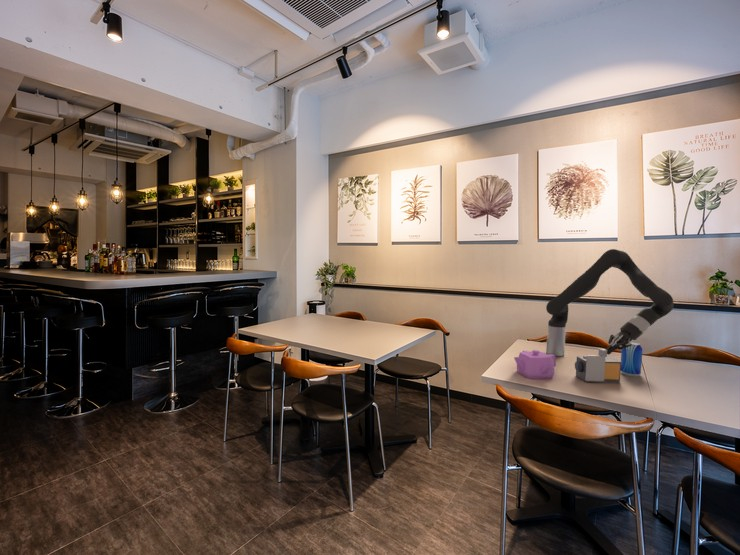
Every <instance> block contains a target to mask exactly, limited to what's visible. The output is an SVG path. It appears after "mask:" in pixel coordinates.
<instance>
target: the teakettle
mask: <svg viewBox="0 0 740 555" xmlns="http://www.w3.org/2000/svg"><path fill="white" fill-rule="evenodd" d="M513 359H514V361H515V363H516V371H517V373H518V374H520V375H521V376H524V377H525V378H526V379H529V380H543V379H553V378H554V375H555V367H556V356H555V355H550V354H546V352H545V353H544V352H542V351H540V350H537V349H533V350H532V351H529V350H522V351H521V352H519V355H518V356H514V357H513Z"/></svg>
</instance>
